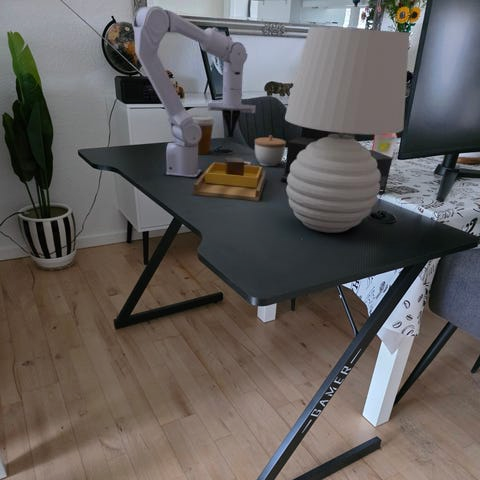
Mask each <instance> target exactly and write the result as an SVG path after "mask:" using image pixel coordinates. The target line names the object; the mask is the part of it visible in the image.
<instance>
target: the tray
mask: <svg viewBox="0 0 480 480" xmlns="http://www.w3.org/2000/svg"><path fill="white" fill-rule="evenodd" d="M244 162H245V163H244V176H238V175H228V174H225V164H226V162H216V161H213V162H212V163H211V165H209V166H210V167H209V166H208V167H209V168H208V167H207V168H208V170H207V171H206V172H205V171H204V172H205V183H213V184H224V185H234V186H244V187H254V188H257V186H258V183H259V181H260V178H261V176H262V173H263V166H259V165H252V161H245V160H244Z"/></svg>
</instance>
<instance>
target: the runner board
mask: <svg viewBox="0 0 480 480" xmlns="http://www.w3.org/2000/svg"><path fill="white" fill-rule="evenodd" d="M210 166H211V165H209V166H208V167H207V168H206V169H205V170H204V172H202V174H201V175H200V176H199V177H198V178H197V180H196V181H195V182H194V183H193V195H194V196H195V195H196V196H205V197H214V198H225V199H235V200H245V201H254V202H255V201H256V202H258V201H260V198H261V195H262V192H263V189H264V186H265V184H266V180H267V170H262V176H261V178H260V181H259V183H258V186H257V188H254V187H244V186H234V185H224V184H213V183H205V172H206V171H207V170H208V168H209V167H210Z"/></svg>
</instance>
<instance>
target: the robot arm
mask: <svg viewBox="0 0 480 480" xmlns="http://www.w3.org/2000/svg"><path fill="white" fill-rule="evenodd" d="M131 26H132V29H133V35H134V36H133V37H134V51H135V55H136V58H137V59H138V61H139V63H140V65H141V67H142V69H143V71H144V73H145V74H146V76H147V78H148V80H149V82H150V84H151V86H152V88H153V89H154V92H155V93H156V95H157V97H158V98H159V100H160V102H161V104H162V106H163V108H164V110H165V112H166V114H167V115H168V118H167V120H168V122H169V125H170V132H171V134H172V136H173V137H174V139H173V140H174V141H173V142H168V143H167V145H166V150H165V152H166V153H165V154H166V155H165V156H166V157H165V159H166V175H168V176H177V177H186V178H187V177H188V178H197V177H198V176H199V175H200V174H201V172H202V169H199V154H198V142H199V141H200V139H201V136H202V131H201V128H200V126H199V125H198V124H196V123H195V122H194V121H193V119H192V117H191V116H192V115H190V113H189V112H188V111H187V109H186V108H185V105H184V104H183V102H182V100H181V98H180V96H179V94H178V92H177V90H176V88H175V87H174V84H173V83H172V81H171V79H170V76H169V74H168V72H167V71H166V68H165V67H164V64H163V63H162V60H161V58H160V57H159V55H158V51H159V48H160V44H161V42H162V40H163V38H164V37H165V36H166V34H167V33H173V32H175V33H178V34H180V35H182V36H184V37H186V38H189V39H191V40H192V41H195V42H197V43H199V46H200V48H201V50H202V51H203V52H206V53H207V54H210V55H212V56H213V57H215V58H217V59H219V60H221V62H223V70H222V72H223V73H222V102H208V103H207V111H208V112H210V111H211V112H212V111H215V112H217V111H218V112H222V117H223V119H224V122H225V125H226V129H227V134H228V135H227V137H228V138H233V137H234V131H235V129H236V125H237V123H238V120H239V118H240V117H241V113H251V114H256V105H254V104H253V105H252V104H242V96H243V95H242V94H243V73H244V65H245V63H246V62H247V59H248V53H247V49H246V47H245V45H244V44H243V43H242V42H240V41H234V40H233V37H232V36H230V35H228V36H226V35H225V34H223V33H221V32H219V29H218V28H217V27H212V28H211V27H207V28H206V29H203V28H201V27H199V26H198V25H196V24H194V23H192V22H190V21H189V20H187V19H186V18H184V17H182V16H181V15H178V14H177V13H175V12H173V11H171V10H168V9H164V8H163V7H161V6H159V5H154V6H153V5H152V6H145V5H144V6H141V7H139V8H138V9H137V10H136V12H135V14H134V17H133V21H132V25H131Z"/></svg>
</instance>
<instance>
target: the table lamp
mask: <svg viewBox="0 0 480 480" xmlns="http://www.w3.org/2000/svg"><path fill="white" fill-rule="evenodd" d="M409 41H410V32H403V31H394V30H393V31H392V30H378V29H364V28H363V29H361V28H347V27H346V28H345V27H330V26H329V27H327V26H309V27H308V31H307V35H306V38H305V41H304V45H303V49H302V52H301V57H300V61H299V64H298V67H297V71H296V75H295V78H294V82H293V86H292V89H291V94H290V97H289V100H288V105H287V108H286V112H285V115H284V120H285V121H286V122H288V123H289V124H293V125H295V126H299V127H301V128H302V127H307V128H311V129H317V130H323V131H330V132H339V134H330V135H328V137H325V138H321V139H319V140H318V141H316V142H312V143H310V144H309V145H308V146H307V147H306V149H304V150H302V151H300V152H299V154H298V155H297V159H296V160H294V161H293V162H292V164H291V166H290V173H289V174H288V177H287V182H286V183H287V185H286V190H285V191H286V195H287V197H288V205H289V207H290V208H291V209H292V210H293V211H292V212H293V214H294V216H295V217H296V218H297V219H298V220H299V221H300V222H301V223H302V224H303V225H304V226H305V227H307V228H309V229H311V230H314V231H317V232H320V233H329V234H330V233H333V234H336V233H337V234H338V233H343V232H346V231H348V230H350V229H352V228H354V227H356V226H358V225H360V224H361V223H362V222H363V219H365V218H367V217H368V216H369V215H370V213H371V212H372V208H373V207H374V206H375V205H376V203H377V201H378V195H379V194H378V193H379V190H380V184H379V181H380V177H381V174H380V171H379V169H377V161H376V159H374V158H373V157H372V156H371V153H370V151H369V150H370V149H368V148H367V147H366V146H363V144H362V143H361V142H359V141H358V140H355V139H354V137H353V136H351V135H353V134H354V135H375V134H393V133H396V134H398V133H401V132H402V131H404V128H405V127H404V125H405V110H406V109H405V108H406V93H407V76H408V59H409V44H410V43H409ZM343 133H345V135H343ZM348 134H351V135H348Z"/></svg>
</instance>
